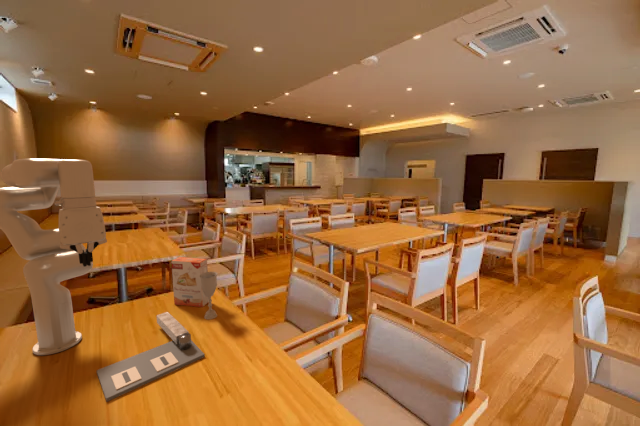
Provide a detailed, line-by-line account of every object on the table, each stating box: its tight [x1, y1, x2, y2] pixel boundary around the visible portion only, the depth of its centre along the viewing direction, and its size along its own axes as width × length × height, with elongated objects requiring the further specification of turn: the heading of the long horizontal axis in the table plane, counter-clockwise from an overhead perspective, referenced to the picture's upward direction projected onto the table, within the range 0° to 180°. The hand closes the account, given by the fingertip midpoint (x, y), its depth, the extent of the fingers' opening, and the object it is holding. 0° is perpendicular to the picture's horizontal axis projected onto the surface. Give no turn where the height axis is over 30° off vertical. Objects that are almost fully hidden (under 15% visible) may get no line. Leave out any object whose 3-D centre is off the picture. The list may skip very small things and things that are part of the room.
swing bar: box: [156, 311, 192, 350], centre depth 103 cm, size 4×24×4 cm, turn 46°
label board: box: [96, 339, 206, 403], centre depth 89 cm, size 15×26×1 cm, turn 135°
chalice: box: [199, 271, 218, 320], centre depth 118 cm, size 7×7×18 cm
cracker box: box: [171, 256, 209, 308], centre depth 128 cm, size 14×6×21 cm, turn 81°
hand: (86, 264), depth 85 cm, fingers closed
